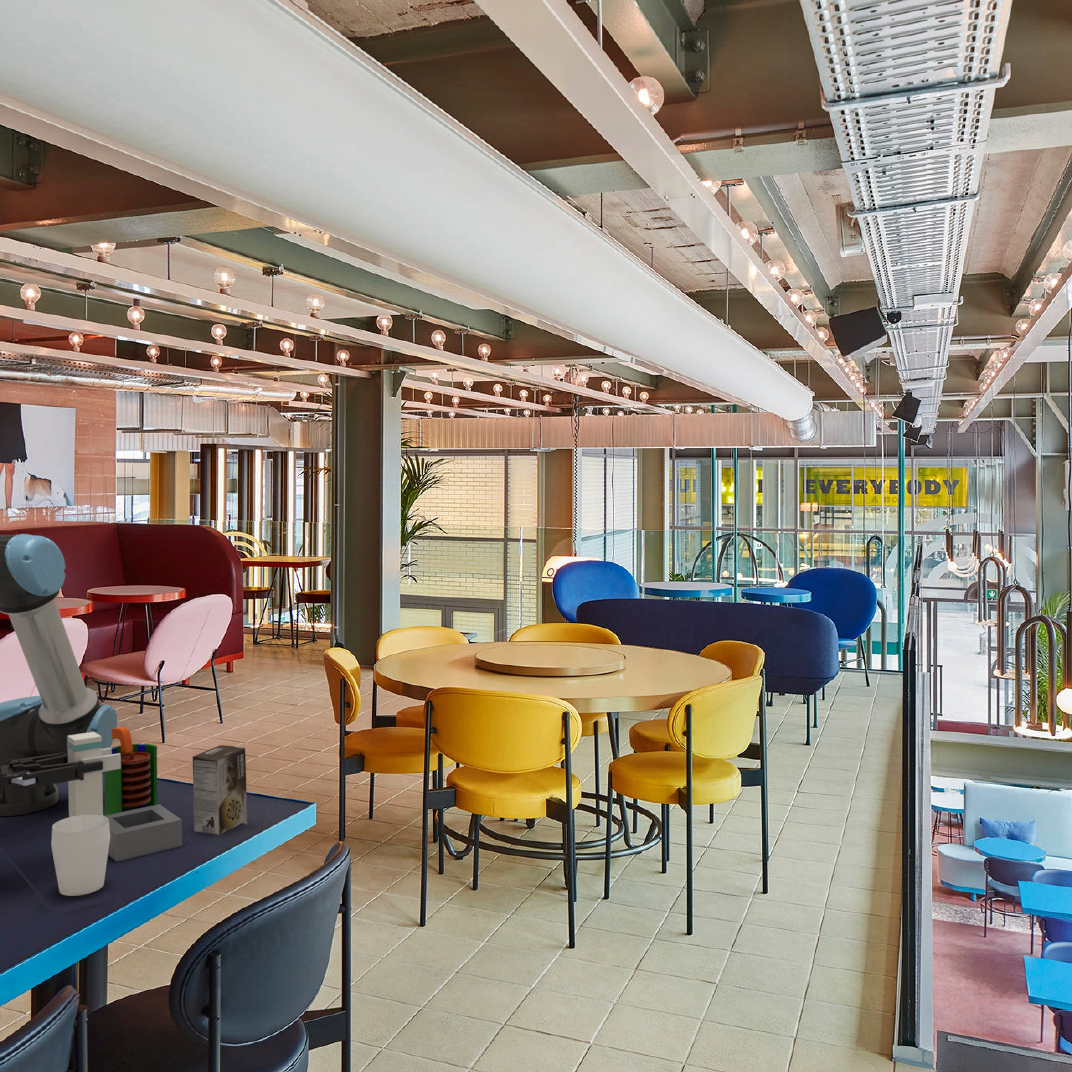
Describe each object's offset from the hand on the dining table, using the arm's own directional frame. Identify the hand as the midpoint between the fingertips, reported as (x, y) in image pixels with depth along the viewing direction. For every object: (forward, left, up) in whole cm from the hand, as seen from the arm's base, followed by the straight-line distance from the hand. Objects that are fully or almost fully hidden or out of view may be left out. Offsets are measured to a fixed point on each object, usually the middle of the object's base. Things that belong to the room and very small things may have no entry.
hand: (115, 758), depth 179 cm
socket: (0, +4, -18) cm, 19 cm away
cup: (+13, -10, -19) cm, 25 cm away
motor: (-15, +7, -19) cm, 25 cm away
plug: (0, -5, -11) cm, 12 cm away
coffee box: (0, +20, -19) cm, 27 cm away
